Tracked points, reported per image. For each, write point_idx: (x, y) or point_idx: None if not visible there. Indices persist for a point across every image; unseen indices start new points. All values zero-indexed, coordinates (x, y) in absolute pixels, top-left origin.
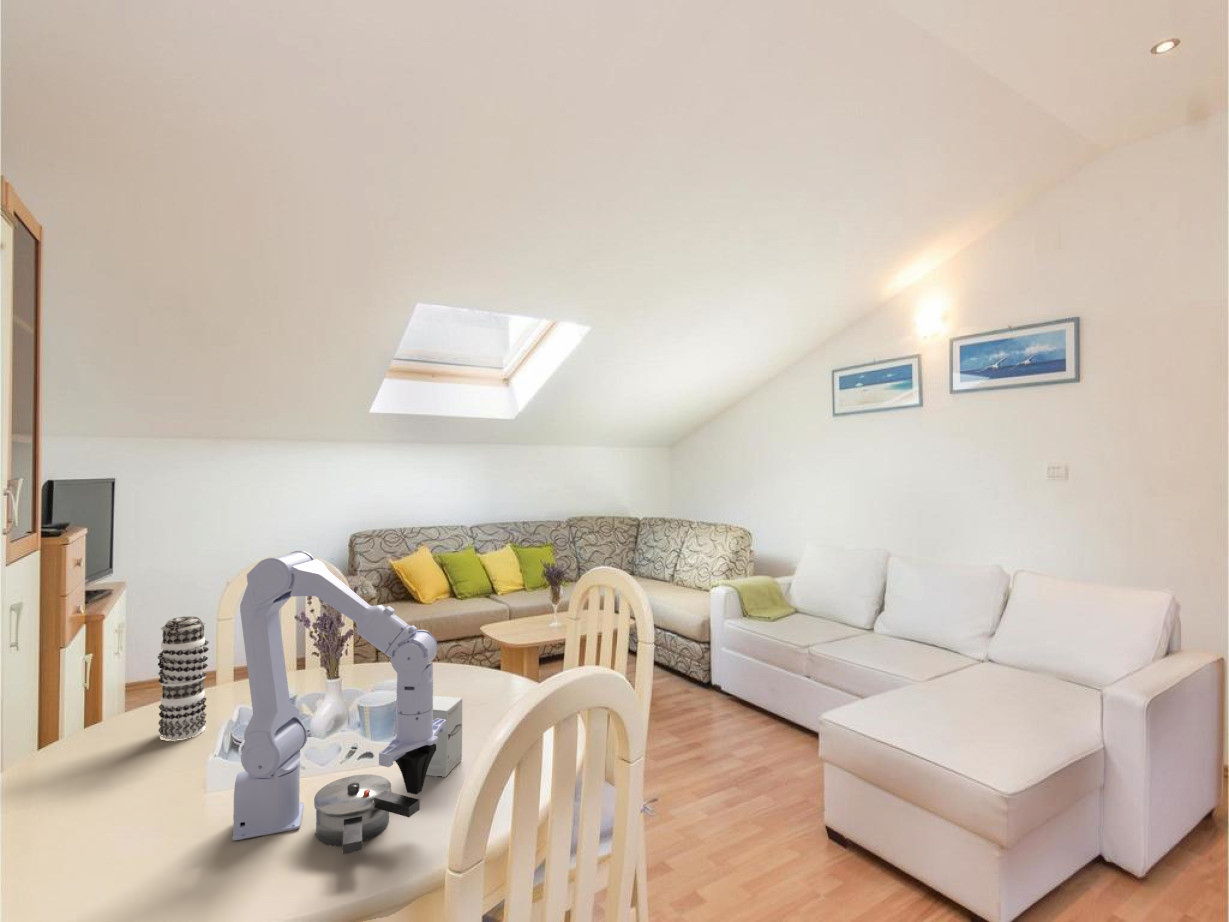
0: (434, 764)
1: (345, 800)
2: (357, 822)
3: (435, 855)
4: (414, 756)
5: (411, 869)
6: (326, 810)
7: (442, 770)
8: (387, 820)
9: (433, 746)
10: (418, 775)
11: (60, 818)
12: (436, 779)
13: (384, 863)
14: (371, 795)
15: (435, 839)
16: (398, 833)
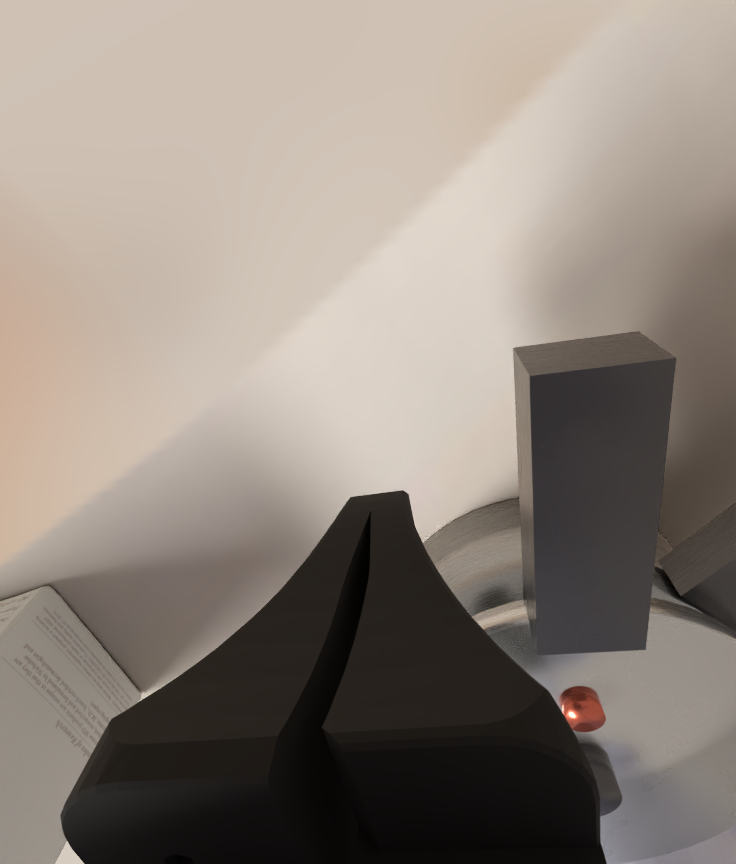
0: (50, 667)
1: (674, 739)
2: None
3: (555, 84)
4: (536, 819)
5: (733, 100)
6: None
7: (40, 618)
8: (463, 531)
9: (132, 806)
10: (422, 572)
11: None
12: (88, 601)
13: (728, 291)
14: (567, 680)
15: (429, 226)
16: (484, 432)
